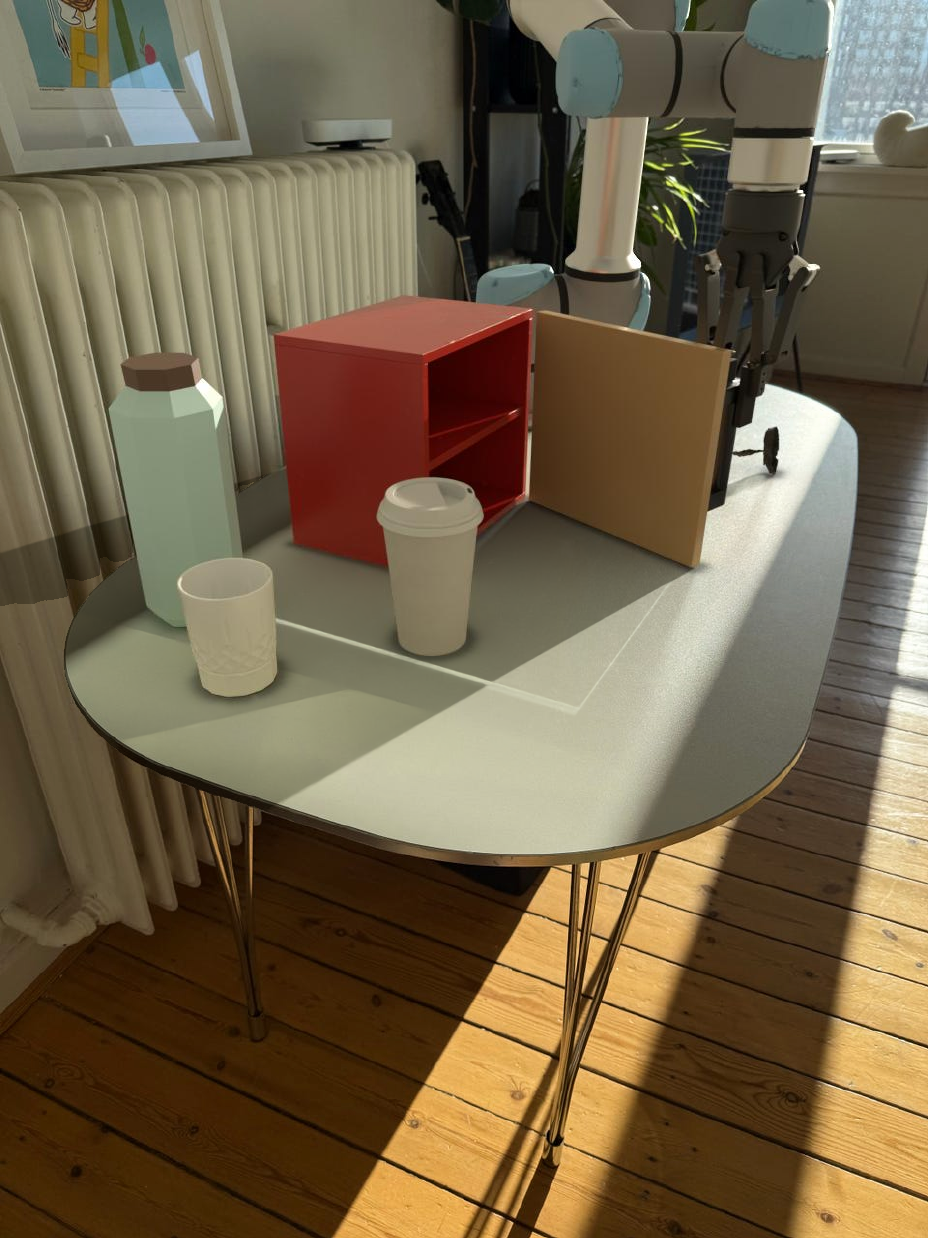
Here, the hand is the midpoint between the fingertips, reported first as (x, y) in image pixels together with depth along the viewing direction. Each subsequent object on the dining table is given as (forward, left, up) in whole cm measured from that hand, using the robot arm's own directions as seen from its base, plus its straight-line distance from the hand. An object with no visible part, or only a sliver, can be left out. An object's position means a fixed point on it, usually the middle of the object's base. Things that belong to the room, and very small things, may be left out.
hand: (731, 421), depth 100 cm
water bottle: (+42, -42, -15) cm, 61 cm away
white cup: (+50, -30, -15) cm, 60 cm away
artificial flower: (-25, -9, -15) cm, 30 cm away
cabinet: (+12, -34, -14) cm, 39 cm away
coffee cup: (+36, -18, -15) cm, 42 cm away
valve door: (0, -11, -14) cm, 18 cm away
